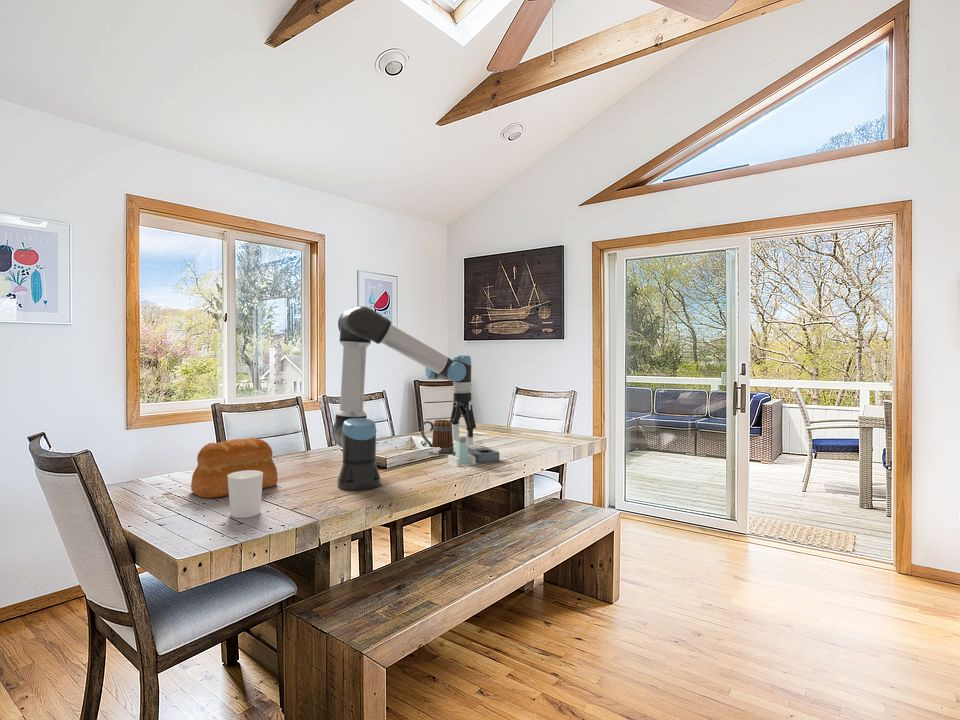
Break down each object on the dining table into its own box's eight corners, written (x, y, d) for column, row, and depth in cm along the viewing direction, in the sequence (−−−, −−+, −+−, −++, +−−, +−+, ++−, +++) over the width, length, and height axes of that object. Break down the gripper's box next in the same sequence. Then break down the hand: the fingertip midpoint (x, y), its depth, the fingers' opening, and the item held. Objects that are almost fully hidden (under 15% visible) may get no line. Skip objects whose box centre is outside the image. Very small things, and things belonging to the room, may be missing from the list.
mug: (455, 450, 260) (455, 419, 260) (451, 455, 250) (452, 422, 249) (423, 449, 262) (423, 418, 261) (418, 454, 251) (418, 421, 251)
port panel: (478, 466, 229) (478, 453, 228) (462, 458, 243) (462, 446, 243) (499, 463, 233) (499, 451, 233) (482, 456, 247) (482, 444, 247)
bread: (186, 492, 185) (186, 441, 184) (260, 478, 205) (260, 432, 204) (206, 501, 175) (205, 448, 174) (282, 486, 194) (282, 438, 194)
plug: (459, 464, 227) (459, 438, 226) (455, 462, 230) (455, 436, 230) (468, 463, 228) (468, 437, 228) (463, 461, 232) (464, 436, 232)
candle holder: (268, 508, 168) (268, 470, 167) (255, 519, 158) (255, 478, 157) (235, 508, 167) (235, 470, 167) (221, 519, 157) (221, 478, 157)
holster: (456, 468, 223) (456, 459, 223) (447, 464, 231) (447, 454, 231) (475, 466, 227) (476, 457, 227) (466, 462, 235) (466, 453, 235)
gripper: (484, 394, 219) (484, 446, 220) (458, 389, 241) (458, 436, 242) (467, 395, 216) (467, 448, 216) (442, 389, 238) (442, 438, 239)
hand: (462, 442), depth 229 cm, fingers open, 13 cm apart
